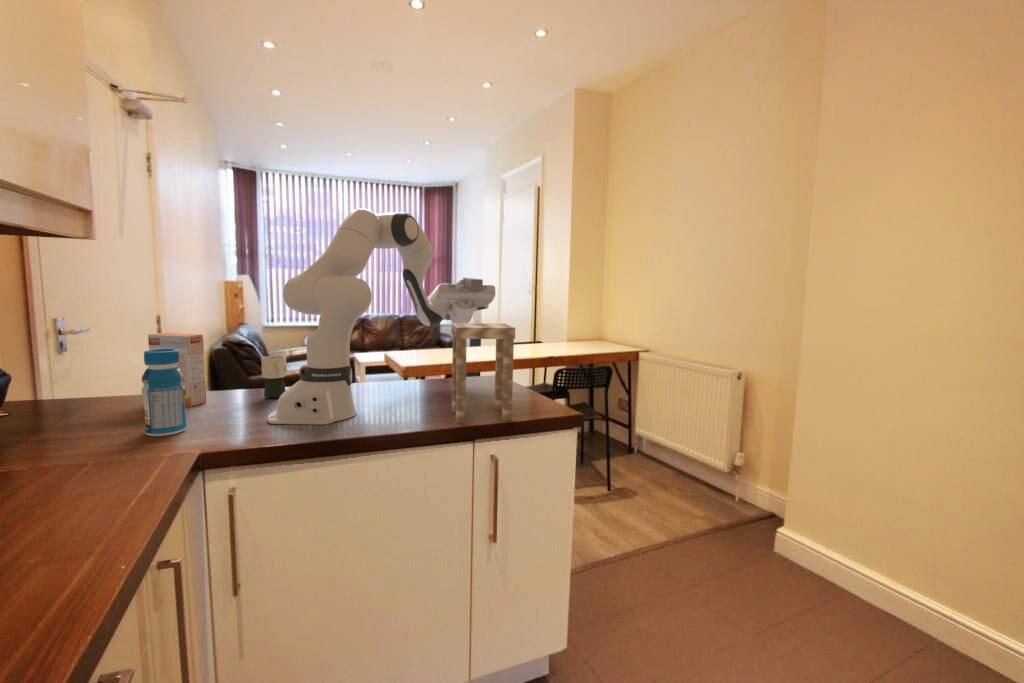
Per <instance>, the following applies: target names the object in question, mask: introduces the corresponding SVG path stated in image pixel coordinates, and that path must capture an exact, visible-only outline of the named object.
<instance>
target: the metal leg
mask: <svg viewBox="0 0 1024 683" xmlns="http://www.w3.org/2000/svg"><path fill="white" fill-rule="evenodd" d="M462 280H464V286H463V288H465V289H467V290H470V291H482V289H483V285H484V283H483V282H484V280H483V279H481V278H475V277H462Z"/></svg>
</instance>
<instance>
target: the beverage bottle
mask: <svg viewBox="0 0 1024 683" xmlns="http://www.w3.org/2000/svg"><path fill="white" fill-rule="evenodd" d="M143 362H144V365H145V366H147V367H146V369H145V371H144V373H143V374H142V377H141V382H142V383H143V386H142V388H141V395H142V398H143V399H142V400H143V412H144V424H145V425H144V432H145V434H146V435H147V436H149V437H150V436H151V437H164V436H165V437H167V436H171V435H176V434H180V433H182V432H184V431H185V430H186V429H187V421H186V407H185V398H184V392H185V385H184V384H183V379H184V375H183V373H182V371H181V370H180V369H179V368H178V367H177V366H176V364H178V363H179V352H178V350H177V349H154V350H149V349H148V350H145V351H144V352H143Z"/></svg>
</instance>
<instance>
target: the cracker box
mask: <svg viewBox="0 0 1024 683" xmlns="http://www.w3.org/2000/svg"><path fill="white" fill-rule="evenodd" d="M147 338H148V339H147V340H148V350H154V349H177V350H178V352H179V363H178V364H176V366H177V367H178V368H179V369H180V370H181V371H182V373H183V375H184V379H183V384H184V385H185V392H184V398H185V408H186V407H187V408H191V407H195V406H198V405H199V406H200V405H203V404H206V403H207V390H206V388H207V387H206V368H205V349H204V348H205V347H204V346H205V345H204V344H205V343H204V335H203V334H194V333H193V334H192V333H177V332H175V333H174V332H172V333H171V332H160V333H150V334H148V335H147Z"/></svg>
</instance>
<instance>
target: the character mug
mask: <svg viewBox="0 0 1024 683" xmlns="http://www.w3.org/2000/svg"><path fill="white" fill-rule="evenodd" d="M260 362H261V377H262V378H264V379H266V380H265V383H264V393H263V397H264V398H275V399H279V398H280V396H281V395H282V394H283V393H284V392H285V391H286V390H287V389H286V384H285V381H284V379H283V378H284V377H286V376H287V375H288V371H287V365H288V364H287V363H288V362H287V356H285V355H267V356H263V357H261V361H260Z"/></svg>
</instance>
